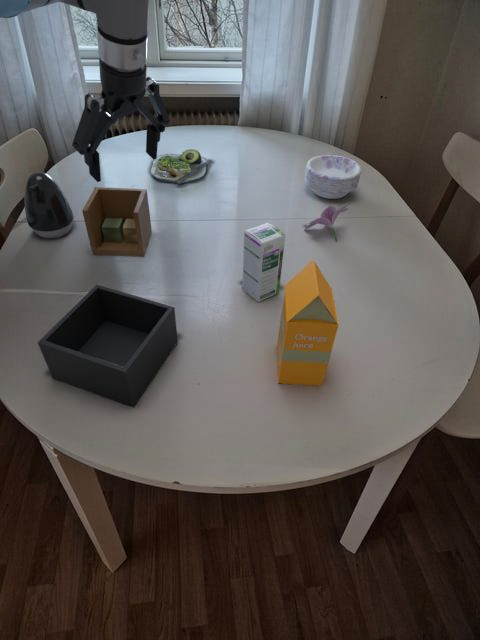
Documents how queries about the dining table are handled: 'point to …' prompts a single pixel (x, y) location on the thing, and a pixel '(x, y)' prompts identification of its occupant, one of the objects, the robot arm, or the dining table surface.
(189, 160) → the salad plate
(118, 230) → the cube sage
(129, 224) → the cube cream
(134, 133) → the dining table surface
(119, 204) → the box
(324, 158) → the paper bowls
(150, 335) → the basket
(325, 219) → the lily
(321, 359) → the orange juice
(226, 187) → the dining table surface
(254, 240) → the syrup box
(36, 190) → the dark grey rounded cone
